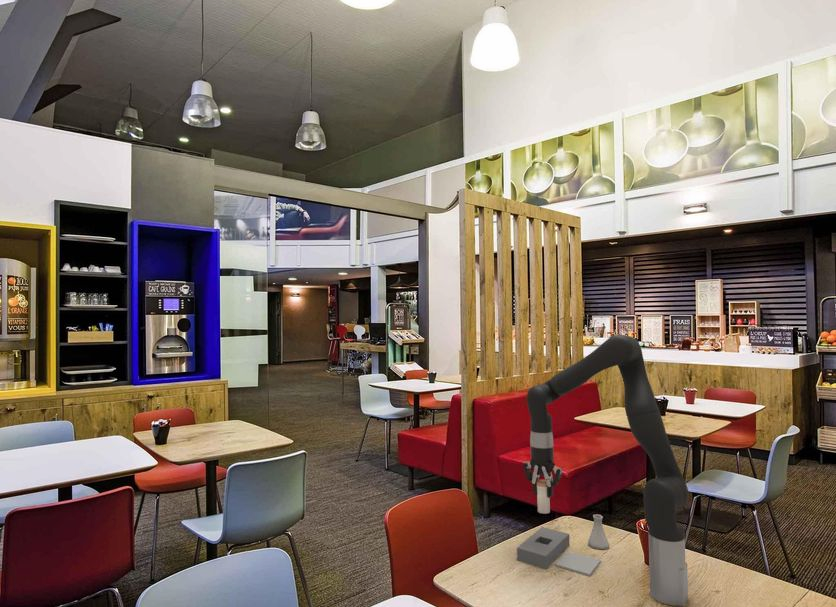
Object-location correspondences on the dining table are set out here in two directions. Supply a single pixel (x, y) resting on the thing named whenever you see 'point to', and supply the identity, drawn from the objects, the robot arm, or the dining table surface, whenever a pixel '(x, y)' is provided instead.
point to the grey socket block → (543, 547)
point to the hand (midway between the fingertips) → (543, 495)
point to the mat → (578, 563)
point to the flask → (598, 534)
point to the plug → (542, 497)
